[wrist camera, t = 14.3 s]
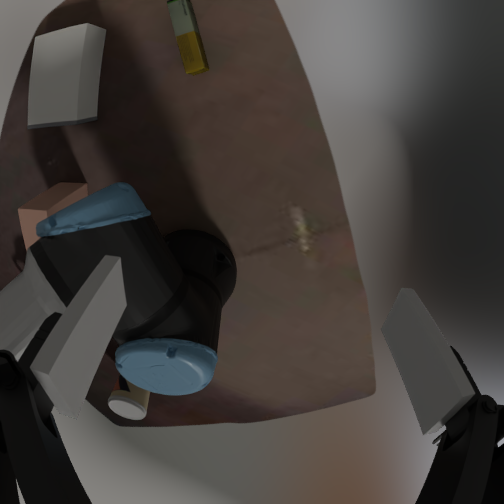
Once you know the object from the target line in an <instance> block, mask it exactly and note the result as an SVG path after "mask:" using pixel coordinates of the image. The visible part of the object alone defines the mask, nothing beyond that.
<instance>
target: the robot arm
mask: <svg viewBox="0 0 504 504" xmlns="http://www.w3.org/2000/svg"><path fill="white" fill-rule="evenodd" d="M36 235H37V236H38V237H40V238H39V240H37V241H36V242H35V243H34V244H32V245H31V246H30V247H29V248H28V249H27V255H26V262H25V267H24V270H23V271H22V272H21V273H20V274H19V275H18V276H17V277H16V278H15V279H14V280H12V281H11V282H10V283H9V284H8V285H7V286H6V287H5V288H4V289H3V290H2V291H1V292H0V504H20V502H19V496H18V490H17V483H16V479H17V482H18V485H19V488H20V490H21V493H22V495H23V498H24V501H25V503H26V504H92V503H91V501H90V499H89V497H88V496H87V494H86V492H85V490H84V488H83V486H82V484H81V482H80V480H79V478H78V476H77V474H76V472H75V470H74V467H73V465H72V463H71V461H70V458H69V456H68V454H67V451H66V449H65V447H64V444H63V442H62V439H61V436H60V434H59V431H58V428H57V426H56V423H55V420H54V417H53V415H52V413H51V411H52V409H53V406H55V407H56V409H57V410H58V412H59V413H60V414H63V415H66V416H68V417H71V418H74V419H77V418H78V415H79V412H80V410H81V407H82V404H83V402H84V399H85V397H86V394H87V392H88V389H89V387H90V385H91V382H92V380H93V377H94V375H95V373H96V370H97V368H98V366H99V363H100V361H101V359H102V357H103V354H104V352H105V350H106V348H107V346H108V343H109V341H110V339H111V337H113V338H114V339H115V340H116V342H117V343H118V344H119V347H118V348H117V350H116V352H115V356H116V358H115V360H116V367H117V369H118V371H119V372H120V374H121V375H122V376H123V377H124V378H125V379H126V380H128V381H129V382H131V383H132V384H134V385H136V386H138V387H140V388H142V389H145V390H147V391H151V392H155V393H159V394H165V395H185V394H190V393H194V392H197V391H199V390H201V389H203V388H204V387H206V386H207V385H208V384H209V382H210V381H211V379H212V377H213V374H214V370H215V366H216V363H217V359H218V356H217V348H218V338H219V329H220V320H221V311H222V307H223V306H224V305H225V303H226V302H227V300H228V299H229V297H230V296H231V294H232V292H233V290H234V288H235V284H236V276H237V268H236V262H235V259H234V257H233V255H232V253H231V252H230V250H229V249H228V248H227V246H226V245H225V244H224V243H223V242H221V241H220V240H219V239H217V238H216V237H214V236H212V235H210V234H208V233H205V232H202V231H197V230H181V231H176V232H173V233H171V234H169V235H167V236H165V237H164V238H163V237H162V235H161V233H160V232H159V230H158V228H157V226H156V224H155V222H154V221H153V219H152V217H151V212H150V211H149V210H147V208H146V207H145V205H144V204H143V202H142V201H141V199H140V197H139V196H138V194H137V192H136V191H135V189H134V188H133V187H132V186H131V185H129V184H127V183H124V182H118V183H114V184H112V185H110V186H108V187H105V188H103V189H101V190H99V191H97V192H95V193H93V194H91V195H89V196H87V197H85V198H83V199H81V200H79V201H77V202H75V203H73V204H71V205H69V206H67V207H66V208H64V209H62V210H60V211H58V212H56V213H55V214H53V215H51V216H49V217H47V218H46V219H44V220H42V221H40V222H39V223H37V225H36ZM381 330H382V333H383V335H384V337H385V340H386V342H387V344H388V346H389V349H390V351H391V353H392V355H393V358H394V360H395V363H396V365H397V367H398V370H399V372H400V375H401V377H402V380H403V382H404V384H405V387H406V390H407V392H408V395H409V397H410V400H411V402H412V405H413V408H414V411H415V413H416V416H417V419H418V421H419V424H420V427H421V430H422V433H423V435H427V434H431V433H434V432H437V431H438V430H439V429H440V428H441V427H442V426H444V425H445V426H446V430H445V431H444V432H443V433H442V434H441V435H439V436H438V437H437V438H436V439H435V440H434V441H433V444H435V443H436V442H437V441H438V440H440V439H441V440H440V443H438V444H437V446H438V449H437V452H436V455H435V458H434V460H433V463H432V466H431V468H430V471H429V473H428V476H427V478H426V481H425V483H424V486H423V488H422V490H421V493H420V495H419V497H418V499H417V501H416V503H415V504H504V444H502V445H501V446H500V447H498V445H497V443H498V442H499V441H500V440H501V439H502V438H504V405H497V403H496V402H495V401H494V399H493V398H492V397H490V396H488V395H481V393H480V391H479V389H478V387H477V386H476V384H475V382H474V380H473V378H472V377H471V374H470V373H469V371H467V367H466V365H465V364H463V360H462V358H461V357H460V355H459V353H458V352H457V351H456V350H455V349H454V348H453V347H452V346H449V344H448V343H447V341H446V339H445V338H444V336H443V334H442V333H441V331H440V330H439V328H438V326H437V325H436V323H435V321H434V320H433V318H432V317H431V315H430V314H429V312H428V310H427V309H426V307H425V306H424V304H423V303H422V301H421V300H420V299H419V297H418V295H417V294H416V292H415V291H414V290H413V289H407V288H401V290H400V292H399V294H398V296H397V298H396V300H395V303H394V305H393V307H392V309H391V311H390V313H389V315H388V317H387V319H386V321H385V323H384V325H383V327H382V328H381Z"/></svg>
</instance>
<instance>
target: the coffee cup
mask: <svg viewBox="0 0 504 504" xmlns="http://www.w3.org/2000/svg"><path fill="white" fill-rule="evenodd" d="M149 394H150V391H147V390H145V389H142V388H140V387H138V386H136V385H134V384H132V383H131V382H129V381H128V380H126V379H125V378H124V377H123V376H122V375H121V374H120V375H119V378H118V380H117V382H116V384H115V386H114V389H113V391H112V393H111V396H110V397H109V399H108V404H109V407H110V408H111V409H112V410H113V411H114V412H115V413H117V414H119V415H121V416H123V417H125V418H128V419H134V420H140V419H142V418H144V417H145V416H146V413H147V411H146V410H147V405H148V399H149Z"/></svg>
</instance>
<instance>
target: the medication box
mask: <svg viewBox="0 0 504 504" xmlns="http://www.w3.org/2000/svg"><path fill="white" fill-rule="evenodd" d="M167 5H168V9H169V13H170V17H171V20H172V24H173V28H174V32H175V35H176V39H177V43H178V47H179V50H180V54H181V58H182V61H183V65H184V69H185V72H186V73H187V74H192V75H193V76H194V75H196V74H200V73H203V72H206V71H208V70H209V66H208V62H207V58H206V54H205V51H204V47H203V43H202V39H201V36H200V32H199V28H198V25H197V21H196V17H195V13H194V10H193V6H192V3H191V2H190V1H189V0H169V1H167Z"/></svg>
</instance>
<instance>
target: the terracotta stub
mask: <svg viewBox="0 0 504 504" xmlns="http://www.w3.org/2000/svg"><path fill="white" fill-rule="evenodd" d="M87 196H88V189H87V183H67V182H60V183H58V184H56V185H55V186H53V187H51V188H49V189H48V190H46V191H45V192H43V193H41V194H40V195H38V196H36V197H35V198H33V199H32V200H30V201H29V202H27V203H26V204H24V205H23V206H21V207H20V208H18V212H19V218H20V223H21V228H22V233H23V238H24V242H25V247H26V251H27V249H28V248H29V247H30V246H31V245H32V244H34V243H35V242H36V241H37V240H39V238H40V237H38V236H37V235H36V225H37V223H39V222H40V221H42V220H44V219H46V218H47V217H49V216H51V215H53V214H55V213H56V212H58V211H60V210H62V209H64V208H66V207H67V206H69V205H71V204H73V203H75V202H77V201H79V200H81V199H83V198H85V197H87Z"/></svg>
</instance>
